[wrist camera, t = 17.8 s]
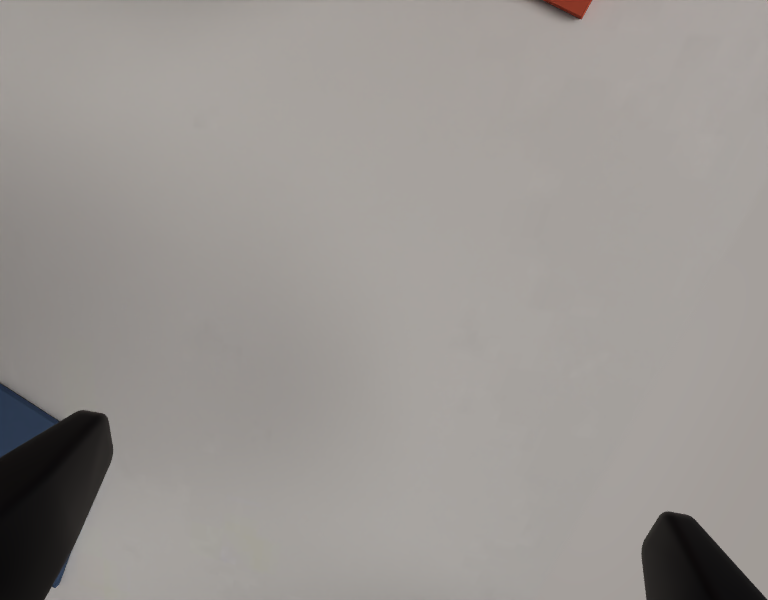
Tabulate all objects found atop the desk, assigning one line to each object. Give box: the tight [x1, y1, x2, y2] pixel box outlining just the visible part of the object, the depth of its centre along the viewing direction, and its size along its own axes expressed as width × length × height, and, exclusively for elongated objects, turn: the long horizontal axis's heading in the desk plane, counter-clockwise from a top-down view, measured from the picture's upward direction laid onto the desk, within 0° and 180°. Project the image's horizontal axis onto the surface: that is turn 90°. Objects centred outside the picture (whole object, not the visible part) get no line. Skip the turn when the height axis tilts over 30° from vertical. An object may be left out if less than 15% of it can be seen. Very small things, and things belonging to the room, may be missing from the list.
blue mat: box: [0, 384, 70, 588], centre depth 28 cm, size 9×9×1 cm
